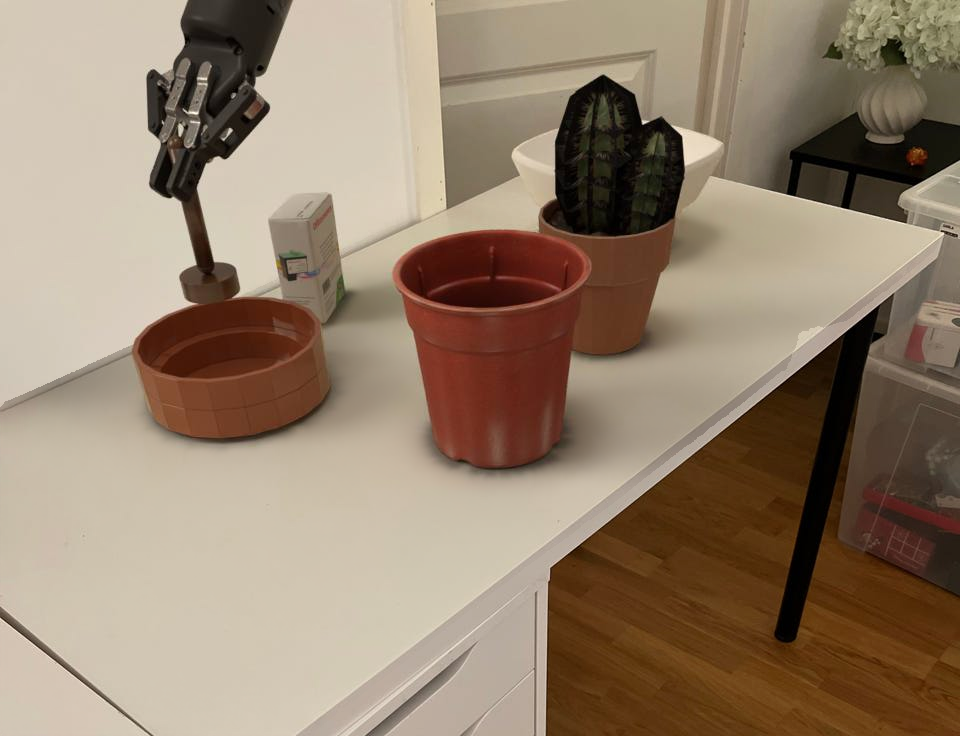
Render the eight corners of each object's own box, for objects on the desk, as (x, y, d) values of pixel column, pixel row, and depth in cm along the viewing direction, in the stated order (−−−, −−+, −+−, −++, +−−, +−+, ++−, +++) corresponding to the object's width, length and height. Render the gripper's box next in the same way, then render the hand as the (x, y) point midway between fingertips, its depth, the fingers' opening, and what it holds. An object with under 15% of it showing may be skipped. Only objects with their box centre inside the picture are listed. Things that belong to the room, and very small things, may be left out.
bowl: (606, 201, 136) (610, 109, 128) (736, 240, 123) (749, 141, 115) (490, 246, 125) (487, 150, 117) (620, 294, 113) (626, 190, 105)
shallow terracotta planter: (117, 400, 99) (97, 340, 95) (263, 338, 108) (252, 281, 104) (214, 465, 89) (197, 401, 85) (366, 392, 98) (358, 331, 94)
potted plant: (567, 376, 99) (573, 105, 82) (520, 322, 108) (516, 70, 91) (687, 351, 102) (717, 85, 85) (631, 301, 111) (647, 53, 94)
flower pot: (530, 504, 83) (529, 325, 72) (375, 455, 89) (352, 285, 78) (614, 416, 93) (624, 247, 82) (469, 378, 99) (460, 218, 88)
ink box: (307, 292, 117) (290, 190, 109) (347, 293, 116) (332, 191, 108) (285, 323, 111) (265, 217, 103) (326, 325, 110) (309, 218, 102)
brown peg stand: (173, 293, 90) (131, 137, 81) (220, 276, 92) (185, 122, 83) (203, 309, 87) (163, 149, 78) (251, 290, 90) (218, 133, 81)
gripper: (155, -40, 81) (82, 159, 82) (271, -30, 74) (191, 185, 76) (216, 21, 87) (148, 204, 89) (328, 35, 81) (253, 231, 82)
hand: (168, 194), depth 82 cm, fingers closed on brown peg stand
